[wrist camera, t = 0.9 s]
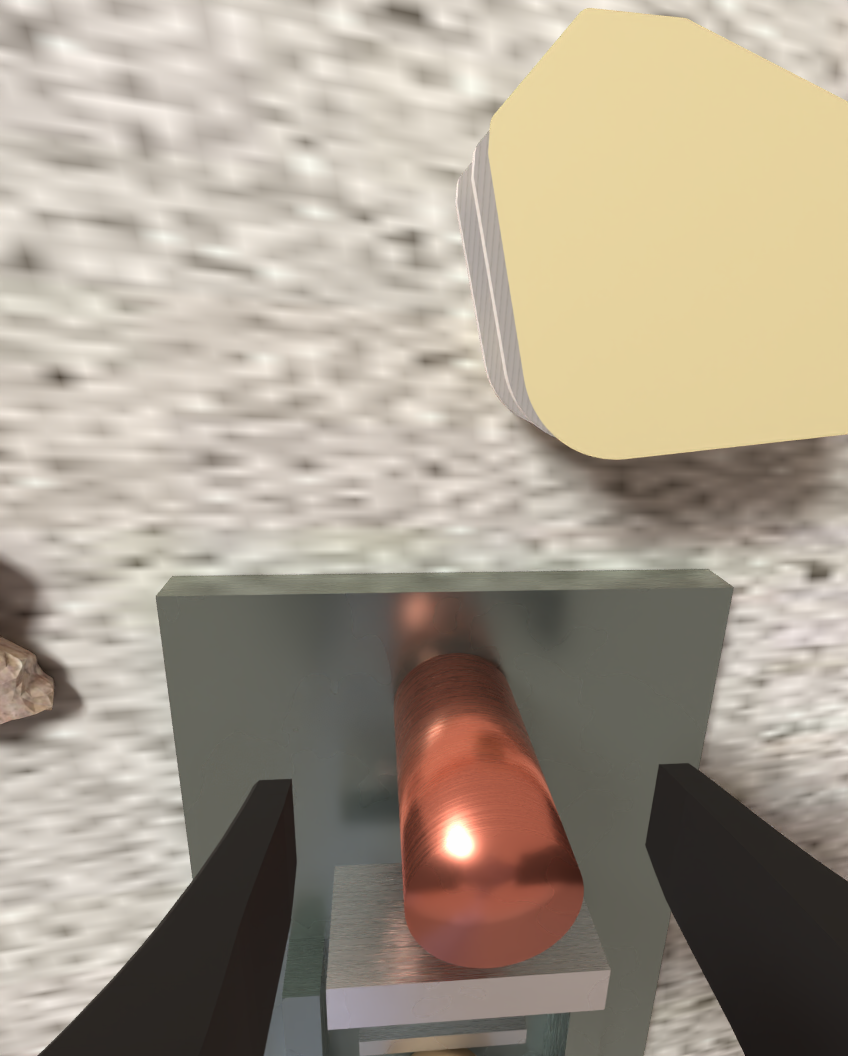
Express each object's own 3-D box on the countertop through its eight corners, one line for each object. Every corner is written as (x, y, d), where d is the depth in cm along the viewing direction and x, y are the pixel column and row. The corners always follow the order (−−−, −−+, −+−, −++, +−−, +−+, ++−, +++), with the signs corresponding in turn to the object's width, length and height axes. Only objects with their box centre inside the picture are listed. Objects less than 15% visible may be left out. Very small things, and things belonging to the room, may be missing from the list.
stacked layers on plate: (838, 84, 13) (1140, -76, 8) (748, 483, 16) (929, 557, 11) (380, 39, 12) (384, -175, 7) (369, 469, 15) (365, 542, 10)
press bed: (616, 1087, 23) (697, 1339, 17) (237, 1119, 22) (188, 1400, 16) (708, 569, 16) (888, 697, 11) (171, 576, 15) (50, 724, 9)
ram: (552, 863, 17) (630, 1098, 12) (338, 874, 17) (322, 1125, 11) (575, 650, 15) (683, 821, 10) (330, 656, 14) (307, 839, 9)
